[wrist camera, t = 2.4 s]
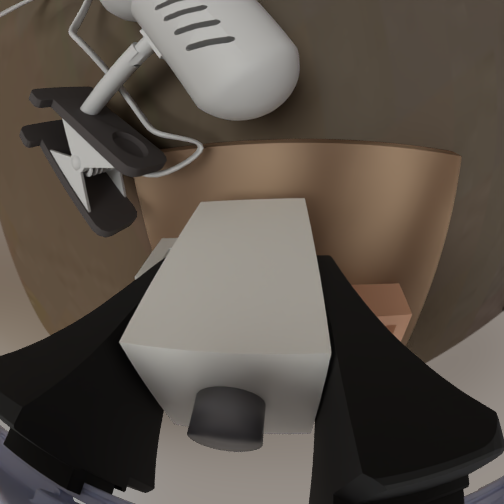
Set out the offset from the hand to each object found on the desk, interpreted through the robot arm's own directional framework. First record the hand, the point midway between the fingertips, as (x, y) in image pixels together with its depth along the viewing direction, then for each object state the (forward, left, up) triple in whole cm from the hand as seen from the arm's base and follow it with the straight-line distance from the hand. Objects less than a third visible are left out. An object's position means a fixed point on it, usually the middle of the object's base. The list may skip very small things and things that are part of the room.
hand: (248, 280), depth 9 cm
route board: (-2, +4, -6) cm, 7 cm away
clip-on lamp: (+6, -11, -6) cm, 14 cm away
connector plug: (0, 0, -3) cm, 3 cm away
